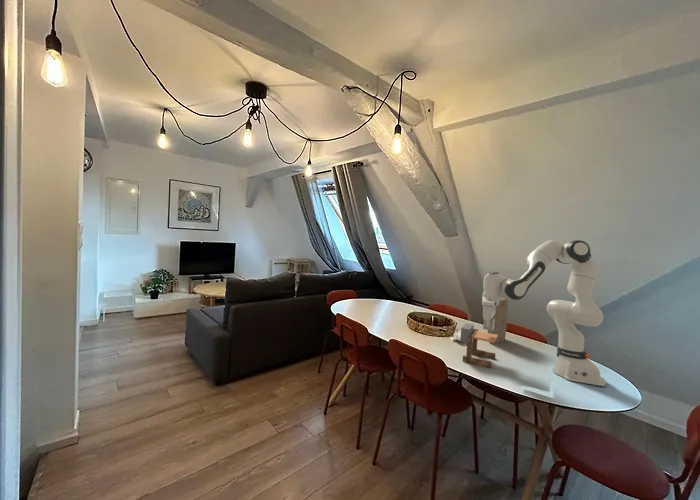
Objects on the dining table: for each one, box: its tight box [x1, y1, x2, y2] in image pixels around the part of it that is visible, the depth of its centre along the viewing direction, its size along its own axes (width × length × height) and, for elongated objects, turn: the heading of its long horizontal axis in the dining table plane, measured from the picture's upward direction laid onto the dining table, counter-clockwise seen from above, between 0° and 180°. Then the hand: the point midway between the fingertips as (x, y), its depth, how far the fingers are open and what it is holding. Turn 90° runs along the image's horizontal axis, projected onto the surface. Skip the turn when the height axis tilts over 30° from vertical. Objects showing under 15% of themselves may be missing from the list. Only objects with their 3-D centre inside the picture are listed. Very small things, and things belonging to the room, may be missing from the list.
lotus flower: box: [449, 328, 466, 346], centre depth 207 cm, size 14×15×9 cm
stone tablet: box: [487, 297, 509, 345], centre depth 212 cm, size 20×8×30 cm, turn 130°
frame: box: [462, 328, 496, 369], centre depth 177 cm, size 14×18×15 cm
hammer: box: [459, 323, 498, 344], centre depth 177 cm, size 18×14×8 cm
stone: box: [482, 318, 495, 331], centre depth 174 cm, size 5×5×6 cm
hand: (488, 325), depth 174 cm, fingers closed on stone, 5 cm apart
